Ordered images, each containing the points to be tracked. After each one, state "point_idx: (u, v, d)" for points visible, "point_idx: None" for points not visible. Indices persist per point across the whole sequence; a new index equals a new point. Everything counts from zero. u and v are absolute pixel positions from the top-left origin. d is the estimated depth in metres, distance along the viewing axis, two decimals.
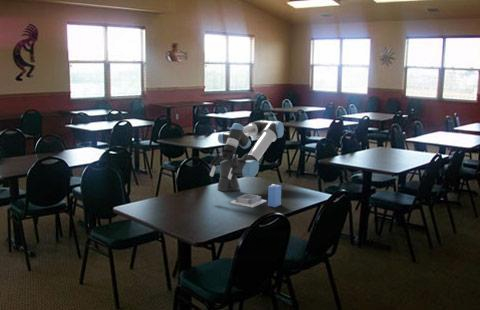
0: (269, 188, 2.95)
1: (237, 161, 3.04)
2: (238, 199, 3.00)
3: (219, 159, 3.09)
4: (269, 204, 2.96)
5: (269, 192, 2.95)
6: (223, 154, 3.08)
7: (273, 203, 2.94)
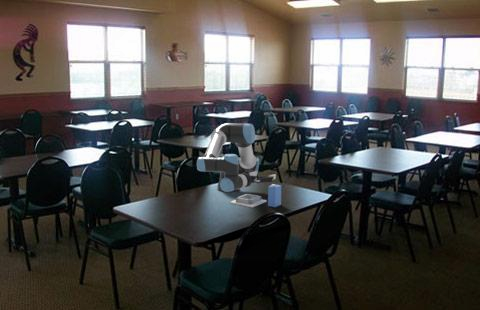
0: (269, 188, 2.95)
1: (264, 179, 2.73)
2: (238, 199, 3.00)
3: None
4: (269, 204, 2.96)
5: (269, 192, 2.95)
6: None
7: (273, 203, 2.94)
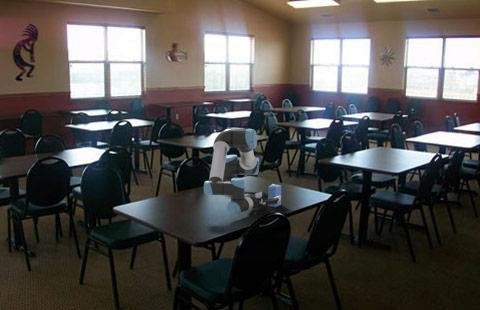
0: (269, 188, 2.95)
1: (270, 201, 2.79)
2: None
3: None
4: None
5: (269, 192, 2.95)
6: None
7: None
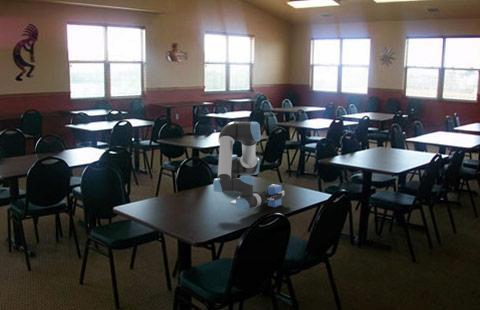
0: (269, 188, 2.95)
1: (276, 197, 2.88)
2: None
3: None
4: (269, 204, 2.96)
5: (269, 192, 2.95)
6: None
7: (273, 203, 2.94)
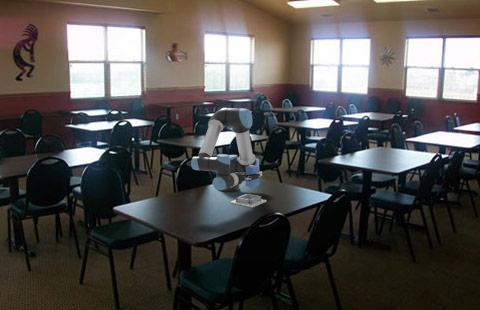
0: (246, 168, 2.98)
1: (254, 177, 2.91)
2: (238, 199, 3.00)
3: None
4: (247, 184, 2.99)
5: (247, 172, 2.98)
6: None
7: (250, 183, 2.97)
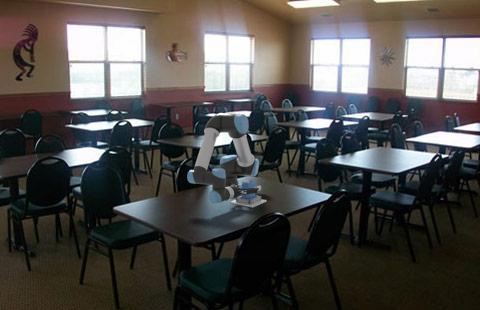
0: (242, 184, 3.00)
1: (250, 191, 2.91)
2: (238, 199, 3.00)
3: None
4: None
5: None
6: None
7: None
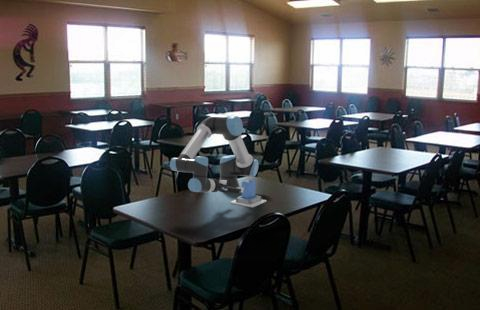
0: (242, 184, 3.00)
1: (232, 189, 2.81)
2: (238, 199, 3.00)
3: None
4: None
5: None
6: None
7: None
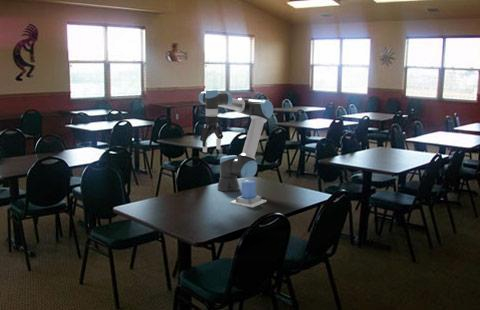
0: (242, 184, 3.00)
1: (204, 132, 2.92)
2: (238, 199, 3.00)
3: (214, 131, 3.03)
4: None
5: (243, 188, 3.01)
6: None
7: None
